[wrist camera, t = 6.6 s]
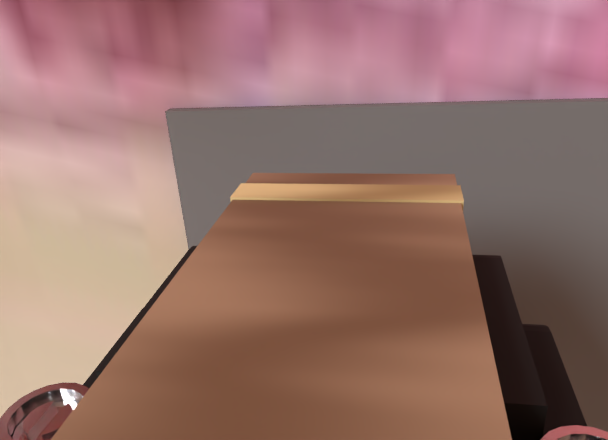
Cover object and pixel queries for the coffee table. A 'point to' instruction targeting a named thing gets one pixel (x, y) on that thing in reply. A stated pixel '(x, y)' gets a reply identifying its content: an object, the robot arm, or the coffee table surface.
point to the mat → (469, 175)
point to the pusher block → (312, 323)
